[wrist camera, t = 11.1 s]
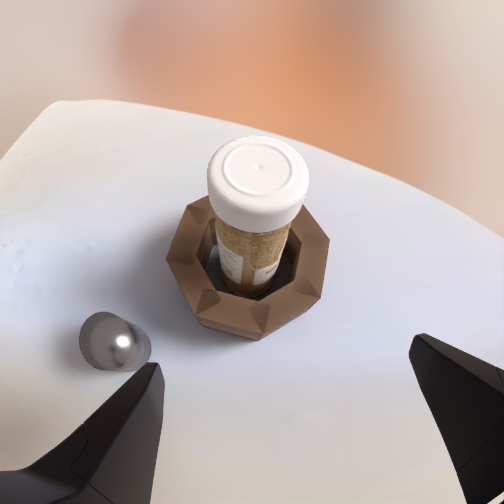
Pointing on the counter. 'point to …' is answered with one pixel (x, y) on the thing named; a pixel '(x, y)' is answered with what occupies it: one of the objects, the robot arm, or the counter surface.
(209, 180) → the sprinkles bottle
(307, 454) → the counter surface
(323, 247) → the walnut collar
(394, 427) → the counter surface
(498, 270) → the counter surface
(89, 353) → the short metal stub
